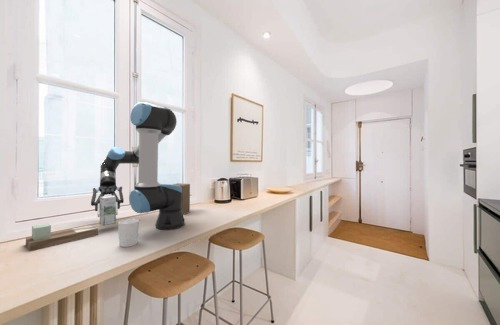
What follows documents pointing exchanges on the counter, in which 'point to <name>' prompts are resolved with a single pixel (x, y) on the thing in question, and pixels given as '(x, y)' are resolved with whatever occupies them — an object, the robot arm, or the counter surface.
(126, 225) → the white cup
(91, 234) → the walnut base board
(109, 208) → the syrup box
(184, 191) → the wooden block
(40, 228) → the sage cube
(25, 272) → the counter surface
